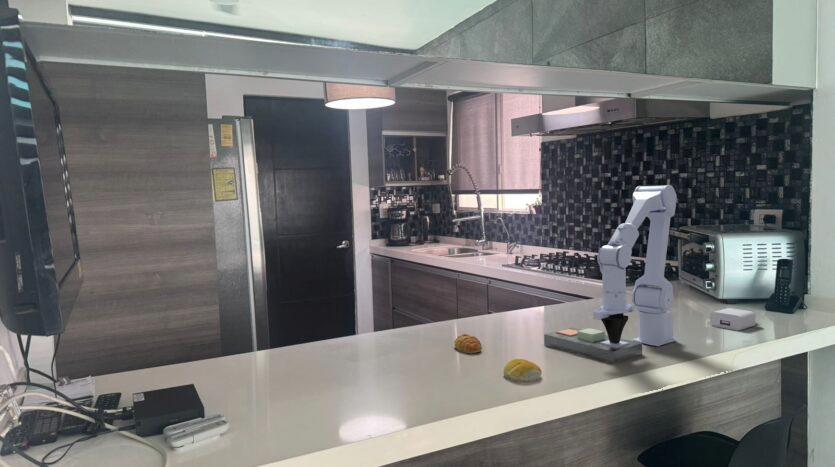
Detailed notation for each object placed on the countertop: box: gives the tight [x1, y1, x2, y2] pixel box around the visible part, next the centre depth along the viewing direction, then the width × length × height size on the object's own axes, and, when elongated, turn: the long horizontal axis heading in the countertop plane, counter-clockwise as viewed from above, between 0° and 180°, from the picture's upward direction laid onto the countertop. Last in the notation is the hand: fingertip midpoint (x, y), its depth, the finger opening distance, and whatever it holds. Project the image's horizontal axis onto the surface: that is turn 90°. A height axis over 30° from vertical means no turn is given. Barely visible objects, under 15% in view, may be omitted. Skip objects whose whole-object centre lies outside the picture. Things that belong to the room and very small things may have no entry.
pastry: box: [453, 333, 483, 354], centre depth 155 cm, size 9×7×4 cm
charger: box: [709, 307, 757, 332], centre depth 173 cm, size 5×9×15 cm
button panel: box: [543, 327, 643, 364], centre depth 151 cm, size 12×23×3 cm, turn 34°
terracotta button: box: [557, 328, 578, 337], centre depth 157 cm, size 5×5×3 cm
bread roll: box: [503, 358, 543, 383], centre depth 131 cm, size 8×9×4 cm
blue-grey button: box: [600, 340, 629, 348], centre depth 145 cm, size 5×5×3 cm
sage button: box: [578, 327, 606, 342], centre depth 151 cm, size 5×5×3 cm
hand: (614, 342), depth 145 cm, fingers closed, pressing on blue-grey button
